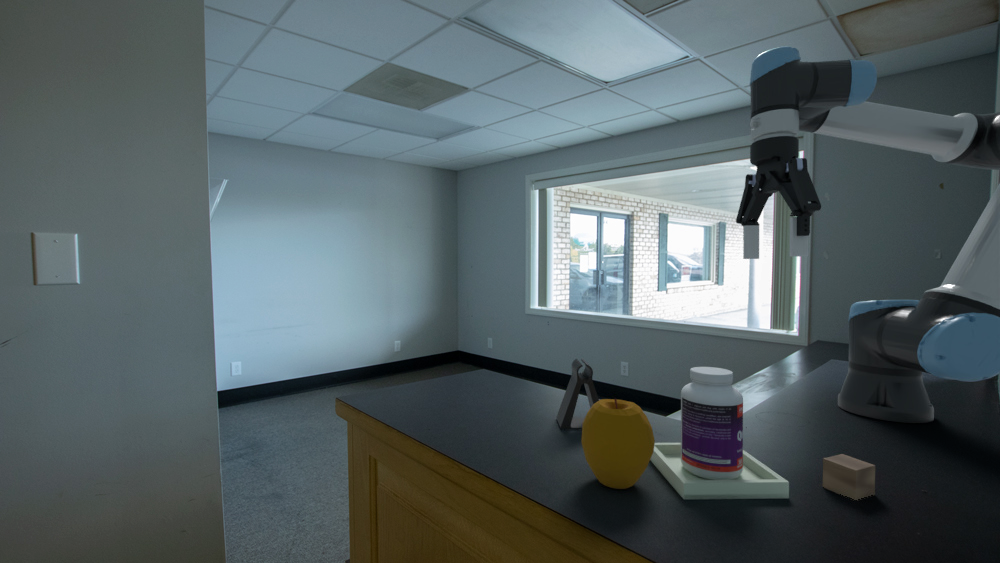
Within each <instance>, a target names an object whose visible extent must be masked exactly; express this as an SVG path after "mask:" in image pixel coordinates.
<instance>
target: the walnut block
mask: <svg viewBox="0 0 1000 563" xmlns="http://www.w3.org/2000/svg"><path fill="white" fill-rule="evenodd" d="M823 487H824V489H825V490H828V491H831V492H833V493H835V494H838V495H840V494H841V495H840V496H842V495H843V496H842V497H845V496H847V497H850V498H852V499H854V500H857V501H859V500H858V499H860V500H862V499H861V498H864V497H867V498H869V497H868V496H870V497H872V496H871V495H873V496H875V495H876V465H875V464H872V463H869V462H867V461H865V460H861V459H858V458H855V457H852V456H850V455H847V454H843V453H841V454H839V453H838V454H835V455H831V456H829V457H827V456H826V457H823V458H822V488H823ZM847 497H846V498H847ZM852 499H851V500H852ZM864 499H865V498H864ZM854 500H853V501H854Z"/></svg>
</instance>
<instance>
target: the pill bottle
mask: <svg viewBox="0 0 1000 563" xmlns="http://www.w3.org/2000/svg"><path fill="white" fill-rule="evenodd" d="M689 370H690V371H689V377H690V380H691V382H689V383H687V384H685V385H684V386H683V387H682V389H681V391H680V443H681V463H682V465H683V466H684V467H685V469H687V470H688V471H689V472H691V473H693V474H694V475H697V476H699V477H702V478H706V479H711V480H732V479H735V478H737V477H739V476H740V475H741V473H742V471H743V450H744V396H743V394H742V393H741V391H739V390H738V389H737V388H736V387H734V386H732V384H733V381H734V372H733V371H732V370H729V369H727V368H722V367H712V366H694V367H691V368H690V369H689Z"/></svg>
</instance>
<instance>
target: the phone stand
mask: <svg viewBox="0 0 1000 563" xmlns="http://www.w3.org/2000/svg"><path fill="white" fill-rule="evenodd" d="M580 360H581V362H582V363H583V364H584V365H583V364H582V363H581V362H580ZM580 360H578V358H576V359H574V360H573V361H572V363H571V376H570V379H569V382H568V384H567V387H566V389H565V393H564V394H563V397H562V398H563V399H562V401H561V403H560V406H559V409H558V412H557V415H556V420H557V423H558V425H559V428H560V430H561V429H582V426H583V422H584V419H585V417H586V416H585V417H584V416H581V417H577V416H575V417H574V414H575V411H576V410H575V409H576V407H577V403H578V398H579V396H580V392H581V388H582V385H584V388H585V392H586V396H587V400H588V404H589V407H590V408H591V407H592V406H593V404H594V403H596V402H598V401H599V400H600V398H599V395H598V392H597V390H596V387H595V385H594V384H595V383H594V381H593V376H594V371H593V368H592V367H591V366H590V365H589V364H588V362H586V360H584V359H583V358H581V359H580ZM583 366H584V369H583V371H581V372H579V371H580V369H581V368H582V367H583ZM590 408H589V409H590Z"/></svg>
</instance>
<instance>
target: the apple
mask: <svg viewBox="0 0 1000 563" xmlns="http://www.w3.org/2000/svg"><path fill="white" fill-rule="evenodd" d="M655 443H656V441H655V435H654V432H653V426H652V425H651V422H650V420H649V418H648V416H647V415H646V413H645V412H644V411H643V409H642V408H641V407H640V406H639V405H638V404H636V403H635V402H633V401H627V400H623V399H617V397H615V398H612V399H611V398H602V399H599V401H598V402H596V403H594V404H593V406H592V407H591V408H589V410H588V411H587V413H586V415H585V419H584V422H583V426H582V430H581V445H582V450H583V455H584V459H585V461H586V463H587V464H588V466H589V468H590V470H591V471H592V473H593V475H594V476H595V478H596V479H597V480H598V482H599V483H601V485H603V486H605V487H607V488H608V487H609V488H610V489H615V490H616V489H617V490H618V489H619V490H624V489H628V488H629V489H630V488H631V487H633V486H634V485H635V484H636V483H637V482H638V481H639V480H640V478H641V477H642V475H643V474H644V472H645V471H646V470H647V468H648V465H649V463H650V462H651V460H650V459H651V456H652V454H653V452H654V444H655Z"/></svg>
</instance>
